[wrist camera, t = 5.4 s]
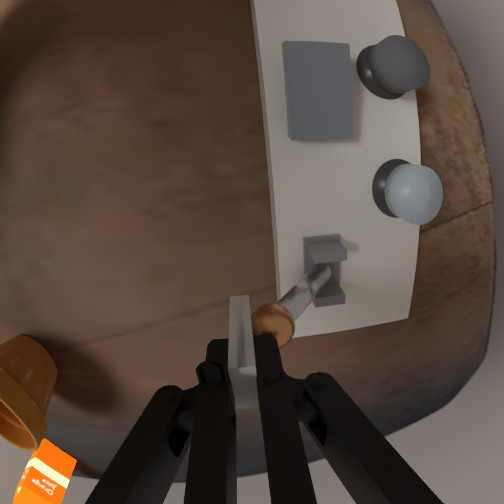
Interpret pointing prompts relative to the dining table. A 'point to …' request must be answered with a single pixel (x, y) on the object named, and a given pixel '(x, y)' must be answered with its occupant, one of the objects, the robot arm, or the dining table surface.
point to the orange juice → (45, 476)
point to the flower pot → (25, 391)
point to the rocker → (318, 90)
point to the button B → (414, 193)
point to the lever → (290, 306)
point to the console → (339, 170)
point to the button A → (398, 64)
